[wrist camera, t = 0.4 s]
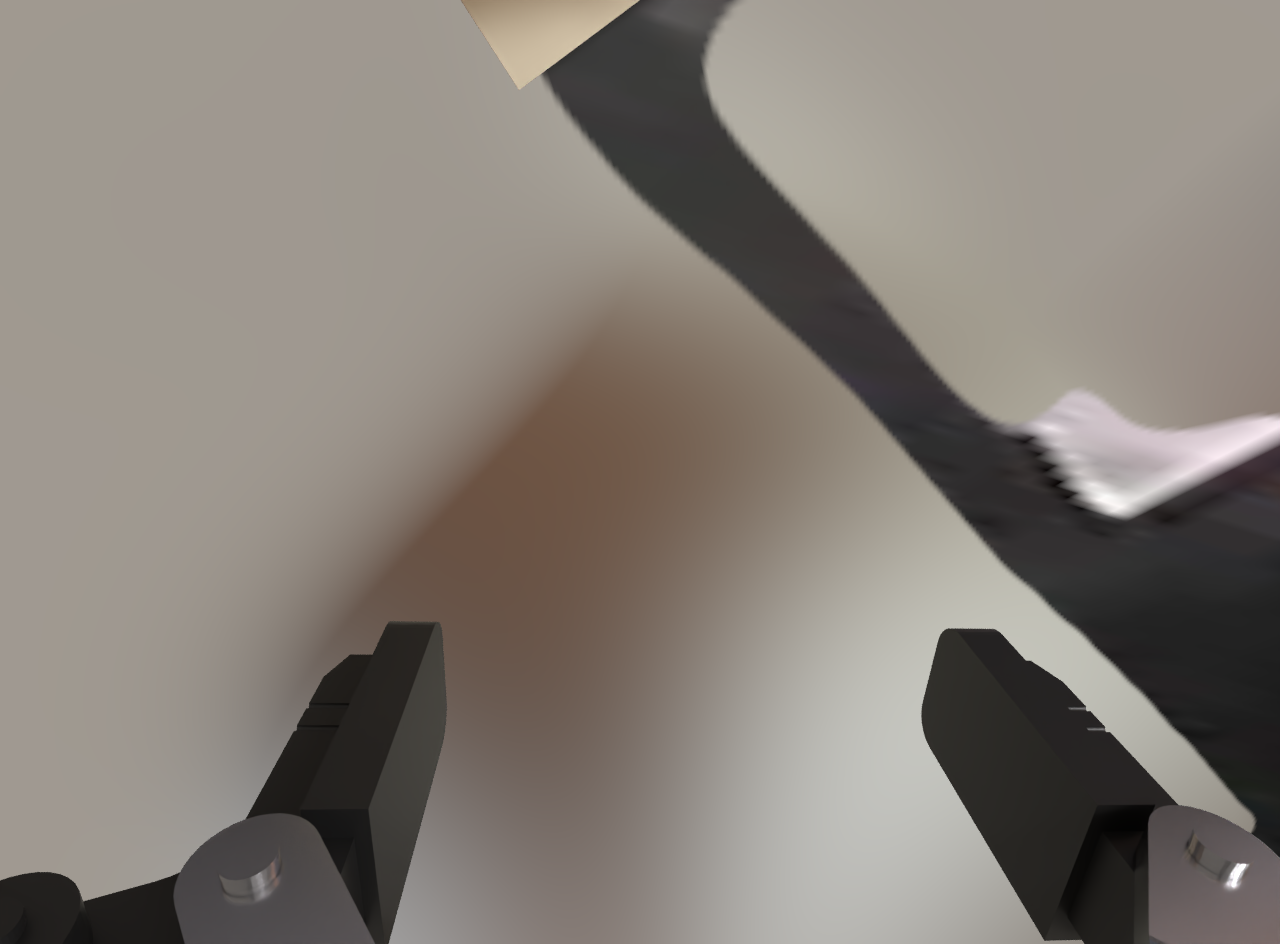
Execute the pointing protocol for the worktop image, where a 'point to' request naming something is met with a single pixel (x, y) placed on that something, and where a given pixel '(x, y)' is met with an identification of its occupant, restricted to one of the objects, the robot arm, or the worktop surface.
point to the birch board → (539, 30)
